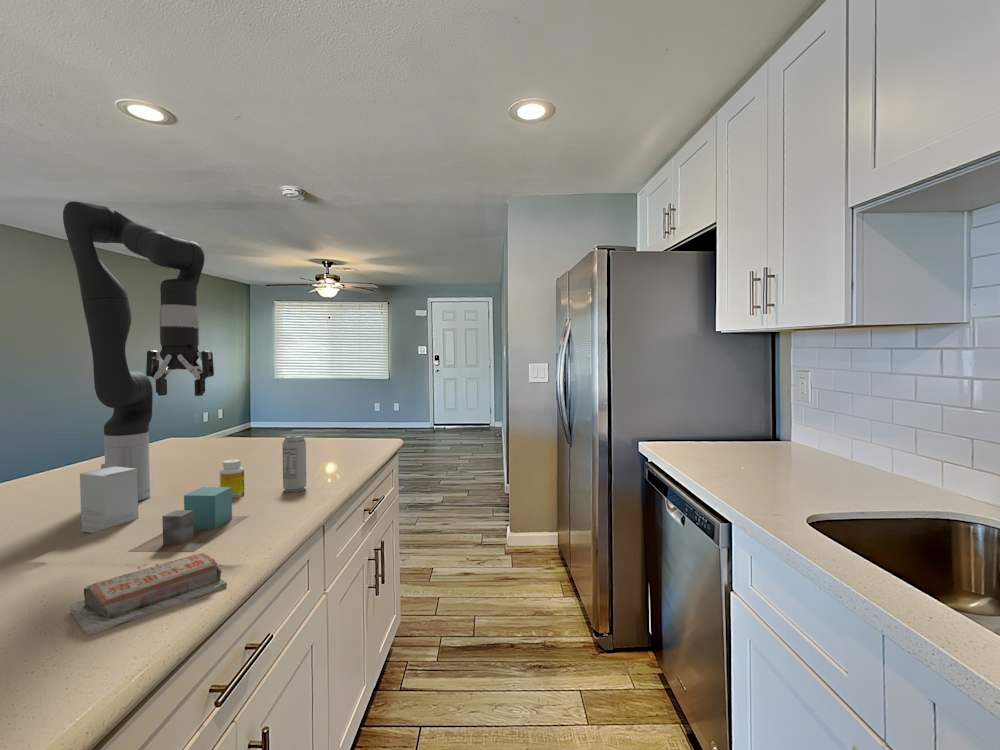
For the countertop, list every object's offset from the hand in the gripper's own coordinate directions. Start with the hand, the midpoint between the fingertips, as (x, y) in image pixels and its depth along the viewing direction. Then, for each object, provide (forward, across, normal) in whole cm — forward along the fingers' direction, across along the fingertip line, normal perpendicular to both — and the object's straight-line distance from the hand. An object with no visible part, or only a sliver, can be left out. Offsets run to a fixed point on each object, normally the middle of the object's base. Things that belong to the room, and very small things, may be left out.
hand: (180, 395), depth 115 cm
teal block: (+27, +12, -10) cm, 31 cm away
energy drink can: (+28, +17, +22) cm, 40 cm away
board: (+28, +12, -15) cm, 34 cm away
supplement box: (+28, -10, -9) cm, 31 cm away
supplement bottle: (+28, +5, +12) cm, 31 cm away
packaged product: (+29, +21, -40) cm, 53 cm away
